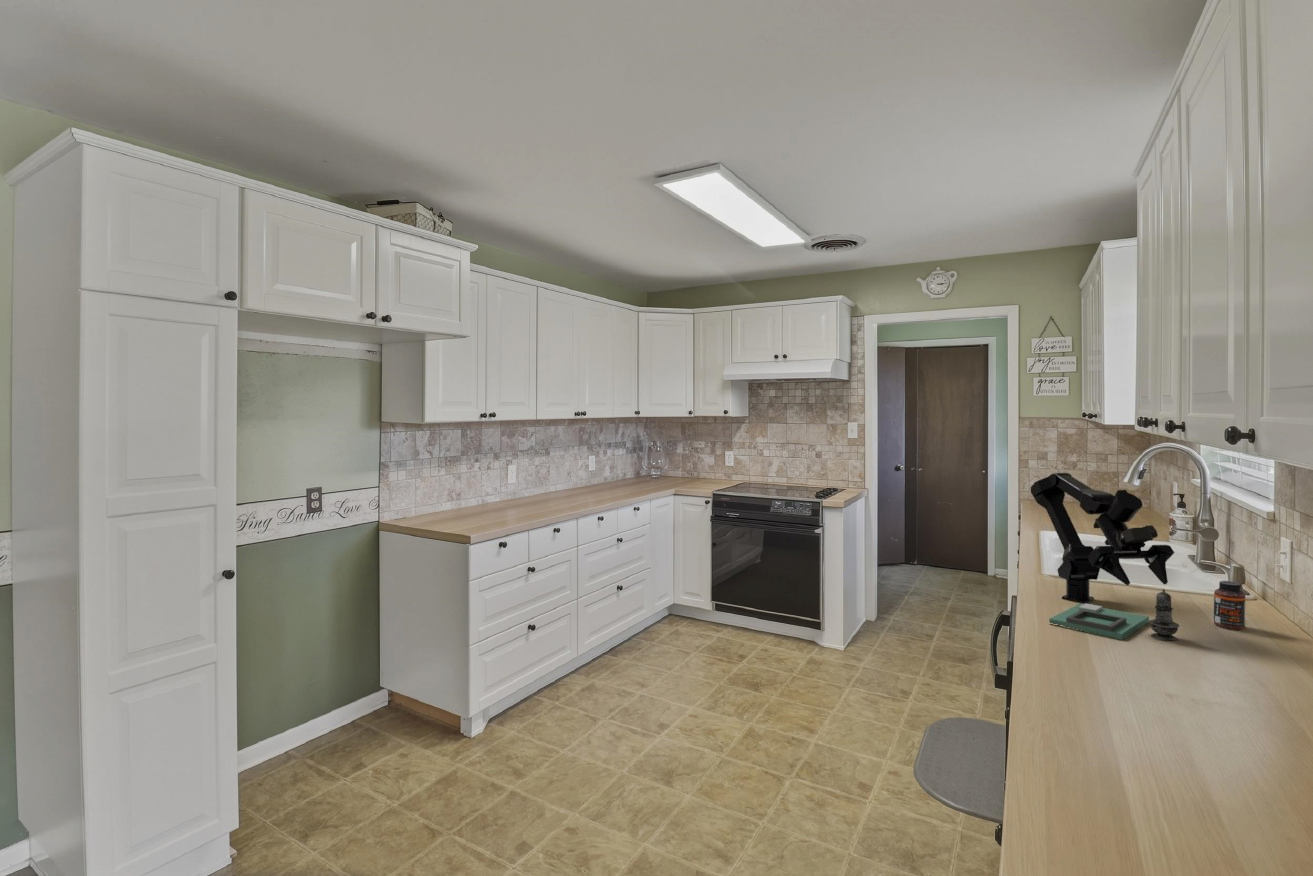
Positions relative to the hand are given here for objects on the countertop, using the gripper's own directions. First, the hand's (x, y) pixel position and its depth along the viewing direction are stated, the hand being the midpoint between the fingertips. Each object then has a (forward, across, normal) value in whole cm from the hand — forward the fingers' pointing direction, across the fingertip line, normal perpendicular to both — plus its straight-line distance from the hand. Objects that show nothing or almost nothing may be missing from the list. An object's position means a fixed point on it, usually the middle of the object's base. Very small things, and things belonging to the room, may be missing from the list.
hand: (1147, 584), depth 161 cm
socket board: (+4, -8, +13) cm, 16 cm away
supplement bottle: (+7, +21, +10) cm, 25 cm away
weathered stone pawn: (+12, 0, +5) cm, 13 cm away
